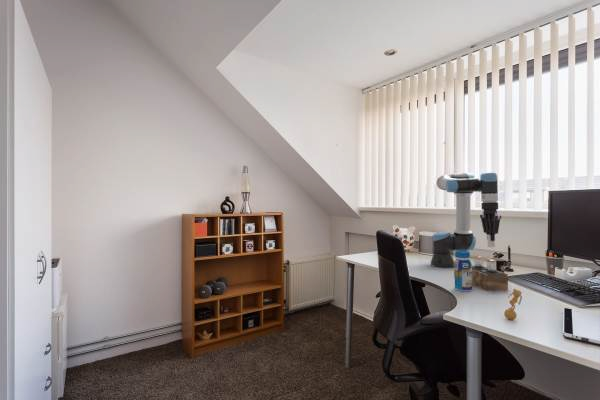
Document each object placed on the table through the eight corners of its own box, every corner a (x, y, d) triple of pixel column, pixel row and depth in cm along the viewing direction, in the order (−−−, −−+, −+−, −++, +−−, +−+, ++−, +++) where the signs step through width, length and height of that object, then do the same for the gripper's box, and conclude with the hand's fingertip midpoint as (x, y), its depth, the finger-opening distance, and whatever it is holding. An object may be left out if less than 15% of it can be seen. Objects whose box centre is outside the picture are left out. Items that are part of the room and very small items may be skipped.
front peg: (485, 274, 161) (485, 259, 161) (492, 274, 162) (492, 259, 162) (491, 276, 157) (490, 261, 157) (498, 276, 158) (497, 260, 158)
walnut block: (465, 281, 173) (465, 266, 173) (483, 280, 174) (483, 265, 174) (488, 290, 155) (487, 274, 155) (508, 289, 156) (507, 272, 156)
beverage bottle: (455, 286, 164) (454, 249, 164) (473, 288, 159) (472, 250, 159) (453, 290, 157) (451, 251, 157) (471, 292, 152) (470, 253, 152)
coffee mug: (500, 274, 187) (500, 257, 187) (509, 277, 178) (508, 260, 178) (480, 274, 188) (480, 258, 188) (488, 277, 179) (487, 260, 179)
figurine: (499, 315, 123) (498, 285, 123) (516, 315, 122) (515, 285, 122) (510, 323, 115) (509, 291, 115) (528, 324, 114) (526, 292, 114)
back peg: (473, 270, 171) (472, 256, 171) (479, 270, 172) (479, 255, 172) (478, 272, 167) (477, 257, 167) (484, 271, 168) (484, 257, 168)
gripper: (474, 202, 166) (476, 245, 165) (491, 202, 153) (493, 249, 152) (487, 201, 166) (489, 244, 166) (505, 201, 153) (507, 248, 153)
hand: (491, 246), depth 159 cm, fingers closed
